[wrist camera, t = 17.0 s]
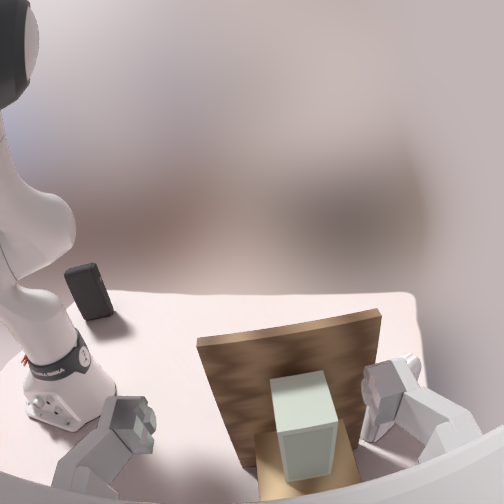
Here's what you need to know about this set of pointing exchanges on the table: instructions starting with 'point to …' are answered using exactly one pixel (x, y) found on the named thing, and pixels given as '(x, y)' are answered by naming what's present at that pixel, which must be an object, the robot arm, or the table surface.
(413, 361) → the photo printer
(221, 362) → the wooden toy chair
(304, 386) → the sage cabinet
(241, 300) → the table surface
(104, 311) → the dark grey upright block
